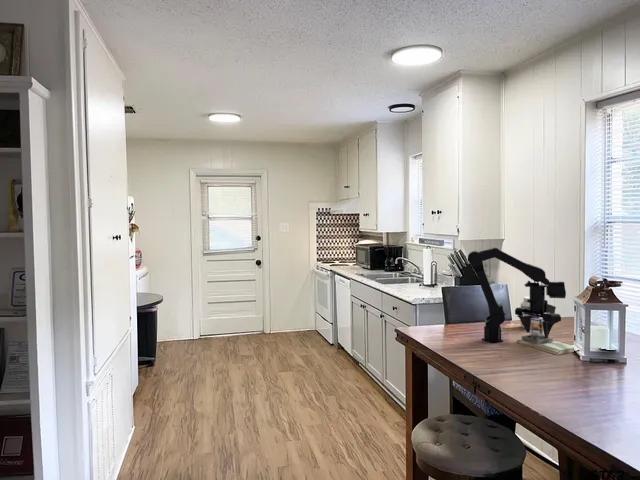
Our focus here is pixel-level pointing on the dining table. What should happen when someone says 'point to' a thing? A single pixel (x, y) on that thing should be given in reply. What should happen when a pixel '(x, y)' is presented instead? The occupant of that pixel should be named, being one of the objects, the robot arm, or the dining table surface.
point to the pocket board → (547, 345)
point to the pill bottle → (526, 304)
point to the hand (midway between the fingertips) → (537, 335)
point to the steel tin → (536, 329)
